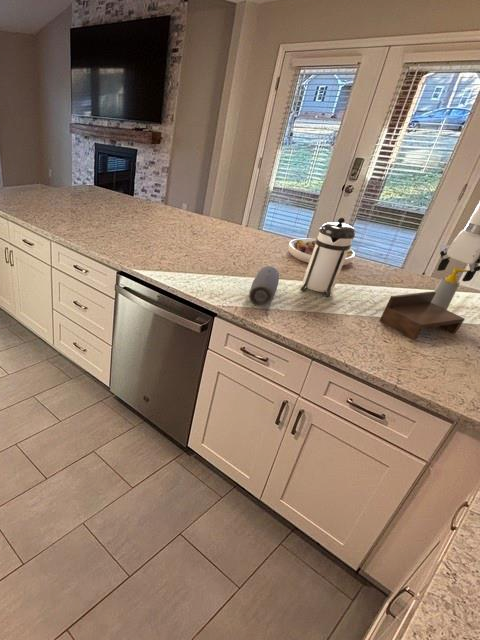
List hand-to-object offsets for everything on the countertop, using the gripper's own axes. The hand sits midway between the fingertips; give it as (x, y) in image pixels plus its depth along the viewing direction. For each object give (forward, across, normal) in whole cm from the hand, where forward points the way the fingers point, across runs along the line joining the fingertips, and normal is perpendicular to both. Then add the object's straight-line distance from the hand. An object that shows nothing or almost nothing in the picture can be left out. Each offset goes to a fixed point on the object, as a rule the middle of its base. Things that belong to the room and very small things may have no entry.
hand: (452, 275), depth 152 cm
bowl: (+16, +59, +3) cm, 61 cm away
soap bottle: (+15, 0, 0) cm, 15 cm away
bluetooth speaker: (+16, +24, +61) cm, 67 cm away
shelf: (+15, -8, +18) cm, 25 cm away
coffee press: (+16, +28, +32) cm, 45 cm away
